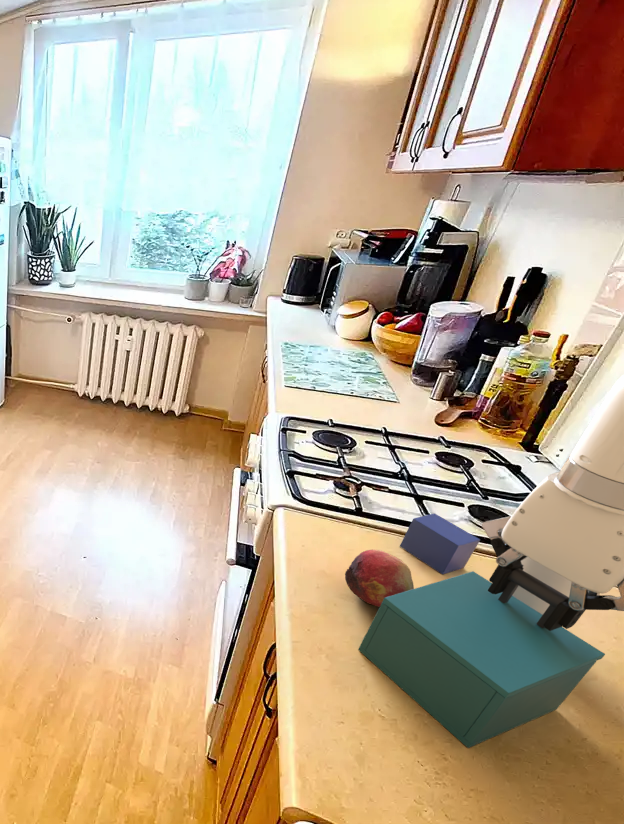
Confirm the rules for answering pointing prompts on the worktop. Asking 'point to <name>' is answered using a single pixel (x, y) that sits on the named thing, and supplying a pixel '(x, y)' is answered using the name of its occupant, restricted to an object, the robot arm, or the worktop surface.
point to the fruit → (378, 576)
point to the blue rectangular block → (439, 543)
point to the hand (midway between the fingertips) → (525, 606)
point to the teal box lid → (495, 629)
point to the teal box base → (456, 682)
